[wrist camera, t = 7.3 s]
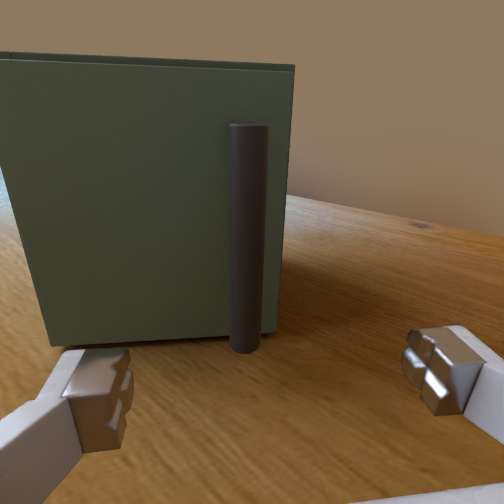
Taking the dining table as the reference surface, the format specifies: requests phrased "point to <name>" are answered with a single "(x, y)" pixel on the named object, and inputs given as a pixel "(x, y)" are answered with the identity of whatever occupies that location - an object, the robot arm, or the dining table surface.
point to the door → (148, 197)
